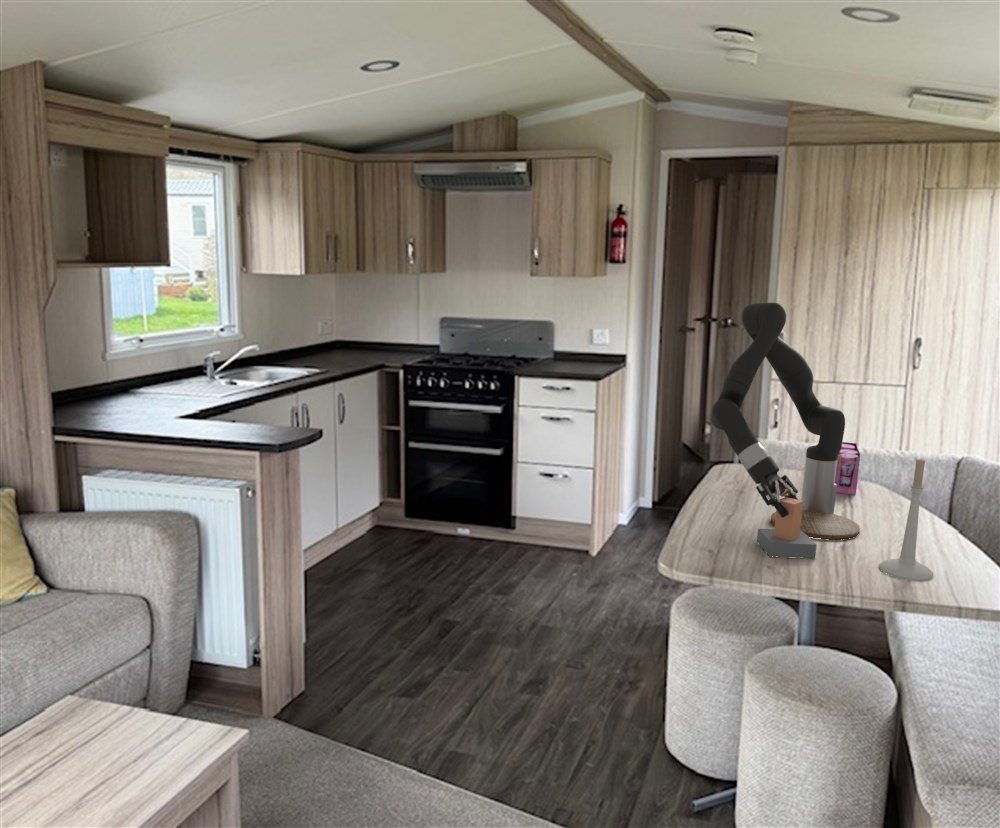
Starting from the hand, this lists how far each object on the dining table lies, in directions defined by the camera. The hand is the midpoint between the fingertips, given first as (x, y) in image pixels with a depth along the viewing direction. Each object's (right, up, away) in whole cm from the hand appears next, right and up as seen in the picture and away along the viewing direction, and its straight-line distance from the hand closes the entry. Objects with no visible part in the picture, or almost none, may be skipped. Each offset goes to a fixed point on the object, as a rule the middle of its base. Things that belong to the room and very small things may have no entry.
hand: (793, 513), depth 242 cm
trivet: (+14, -7, +26) cm, 31 cm away
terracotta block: (-1, -6, +2) cm, 7 cm away
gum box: (+41, +1, +75) cm, 86 cm away
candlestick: (+26, -14, -10) cm, 31 cm away
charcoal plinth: (-1, -10, +3) cm, 11 cm away
